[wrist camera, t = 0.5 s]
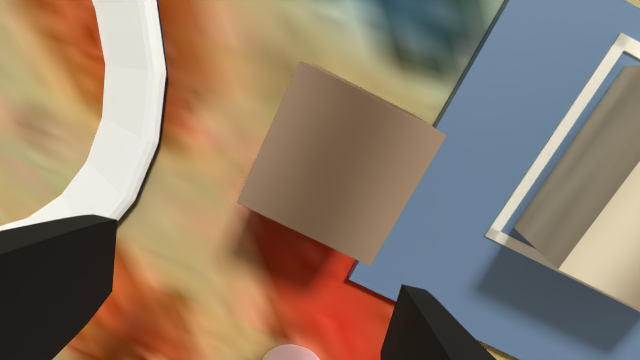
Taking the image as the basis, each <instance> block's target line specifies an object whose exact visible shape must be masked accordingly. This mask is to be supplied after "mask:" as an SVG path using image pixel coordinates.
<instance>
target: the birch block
mask: <svg viewBox="0 0 640 360" xmlns="http://www.w3.org/2000/svg"><path fill="white" fill-rule="evenodd" d="M514 228H515V229H516V230H517V231H518V232H519V233H520V234H521V235H522V236H523V237H524V238H525V239H526V240H527V241H528V242H530V243H531V244H532V245H533V246H534V247H535V248H536V249H537V250H538V251H539V252H540V253H541V254H542V255H543V256H544V257H545V258H547V259H548V260H549V261H550V262H551V263H552V264H553V265H554V266H555V267H556V268H557V269H558V270H560V271H562V272H564V273H567V274H569V275H571V276H573V277H575V278H577V279H579V280H581V281H583V282H585V283H587V284H589V285H591V286H593V287H595V288H597V289H599V290H601V291H603V292H605V293H607V294H609V295H611V296H614V297H616V298H618V299H620V300H622V301H624V302H626V303H628V304H630V305H632V306H634V307H636V308H638V309H640V65H631V66H624V67H623V69H622V70H621V72H620V73H619V74H618V76H617V77H616V79H615V80H614V82H613V83H612V85H611V86H610V88H609V89H608V90H607V92H606V93H605V95H604V96H603V98H602V99H601V101H600V102H599V103H598V105H597V106H596V108H595V109H594V111H593V112H592V114H591V115H590V117H589V118H588V119H587V121H586V122H585V124H584V125H583V127H582V128H581V130H580V131H579V133H578V134H577V135H576V137H575V138H574V140H573V141H572V143H571V144H570V146H569V147H568V148H567V150H566V151H565V153H564V154H563V156H562V157H561V159H560V160H559V162H558V163H557V164H556V166H555V167H554V169H553V170H552V172H551V173H550V175H549V176H548V177H547V179H546V180H545V182H544V183H543V185H542V186H541V188H540V189H539V191H538V192H537V193H536V195H535V196H534V198H533V199H532V201H531V202H530V204H529V205H528V206H527V208H526V209H525V211H524V212H523V214H522V215H521V217H520V218H519V220H518V221H517V222H516V224H515V225H514Z"/></svg>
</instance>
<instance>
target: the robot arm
mask: <svg viewBox="0 0 640 360" xmlns="http://www.w3.org/2000/svg"><path fill="white" fill-rule="evenodd" d="M116 230H117V219H112V218H108V217H103V216H99V215H95V214H90V215H80V216H73V217H67V218H61V219H56V220H51V221H46V222H41V223H36V224H31V225H26V226H21V227H16V228H11V229H6V230H1V231H0V360H52V359H53V358H54V357H55V356H56V355H57V354H58V353H59V352H60V351H61V350H62V349H63V348H64V347H65V346H66V345H67V344H68V343H69V342H70V341H71V340H72V339H73V338H74V337H75V336H76V335H77V334H78V333H79V332H80V331H81V330H82V329H83V328H84V327H85V326H86V324H87V323H88V322H89V321H90V319H91V318H92V317H93V316H94V314H95V313H96V312H97V311H98V309H99V308H100V307H101V305H102V304H103V303H104V301H105V300H106V299H107V297H108V296H109V295H110V293H111V292H112V286H113V272H114V258H115V244H116ZM381 360H496V359H495V358H494V357H493V356H492V355H491V354H490V353H489V352H488V351H487V350H486V349H485V348H484V347H483V346H482V345H481V344H480V343H479V342H478V341H477V340H476V339H475V338H474V337H473V336H472V335H471V334H470V333H469V332H468V331H467V330H466V329H465V328H464V327H463V326H462V325H461V324H460V323H459V322H458V321H457V320H456V319H455V318H454V317H453V316H452V314H451V313H450V312H449V311H448V310H447V309H446V308H445V307H444V306H443V305H442V304H441V303H440V302H439V301H438V300H437V299H436V298H435V297H434V296H433V295H432V294H431V293H429V292H428V291H427V290H425V289H421V288H417V287H412V286H408V285H403V284H402V285H401V288H400V291H399V295H398V298H397V301H396V304H395V307H394V311H393V314H392V317H391V320H390V324H389V327H388V330H387V333H386V336H385V340H384V343H383V346H382V349H381Z"/></svg>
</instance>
